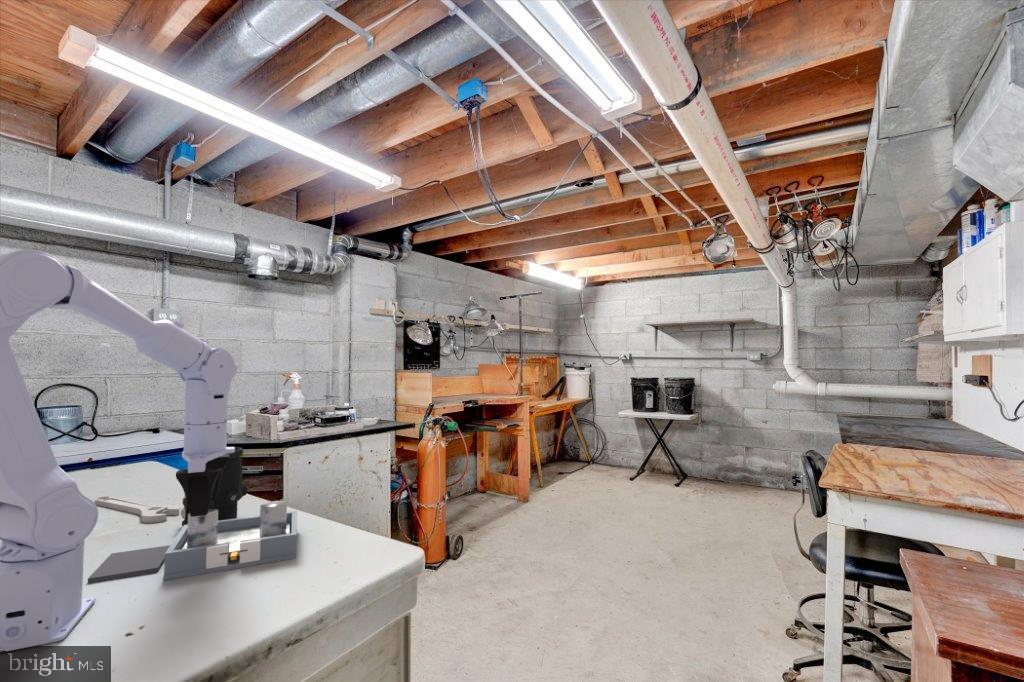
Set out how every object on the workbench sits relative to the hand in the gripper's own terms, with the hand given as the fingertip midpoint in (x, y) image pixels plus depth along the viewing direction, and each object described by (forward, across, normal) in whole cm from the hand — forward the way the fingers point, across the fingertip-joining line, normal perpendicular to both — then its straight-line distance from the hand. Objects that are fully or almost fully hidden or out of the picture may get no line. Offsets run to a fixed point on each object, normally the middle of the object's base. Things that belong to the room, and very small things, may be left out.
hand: (203, 507), depth 72 cm
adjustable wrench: (+8, +32, +16) cm, 37 cm away
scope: (+8, +16, 0) cm, 18 cm away
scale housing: (+8, 0, -5) cm, 9 cm away
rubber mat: (+8, +1, +9) cm, 12 cm away
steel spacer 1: (+6, 0, 0) cm, 6 cm away
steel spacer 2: (+6, 0, -10) cm, 11 cm away
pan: (+7, -1, -5) cm, 8 cm away
